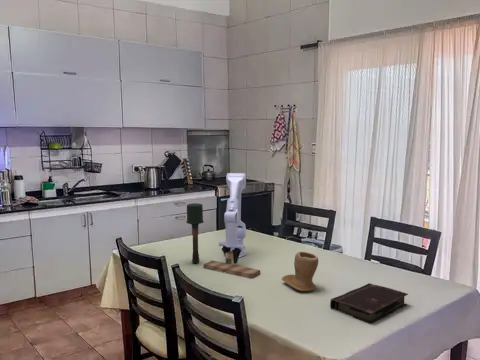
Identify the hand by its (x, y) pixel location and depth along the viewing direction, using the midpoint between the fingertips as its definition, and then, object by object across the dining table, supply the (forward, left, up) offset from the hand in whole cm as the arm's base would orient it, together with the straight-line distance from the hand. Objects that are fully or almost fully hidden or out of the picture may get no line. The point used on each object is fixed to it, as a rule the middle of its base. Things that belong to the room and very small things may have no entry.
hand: (231, 262), depth 215 cm
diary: (+72, -13, -3) cm, 73 cm away
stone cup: (+41, -7, -2) cm, 42 cm away
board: (+4, -7, -2) cm, 8 cm away
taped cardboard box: (0, 0, -2) cm, 2 cm away
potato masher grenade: (-18, -6, -2) cm, 19 cm away
